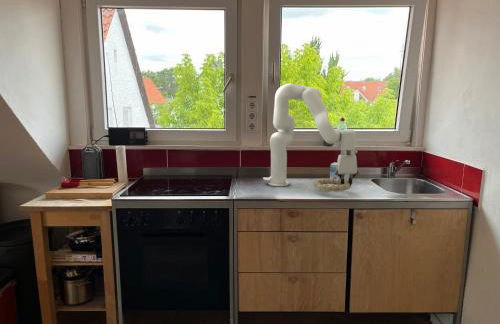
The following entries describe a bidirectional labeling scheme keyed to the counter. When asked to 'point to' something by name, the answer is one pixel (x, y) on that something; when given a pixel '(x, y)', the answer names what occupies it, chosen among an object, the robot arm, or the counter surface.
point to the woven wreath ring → (320, 185)
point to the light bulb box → (333, 169)
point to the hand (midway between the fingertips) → (346, 185)
